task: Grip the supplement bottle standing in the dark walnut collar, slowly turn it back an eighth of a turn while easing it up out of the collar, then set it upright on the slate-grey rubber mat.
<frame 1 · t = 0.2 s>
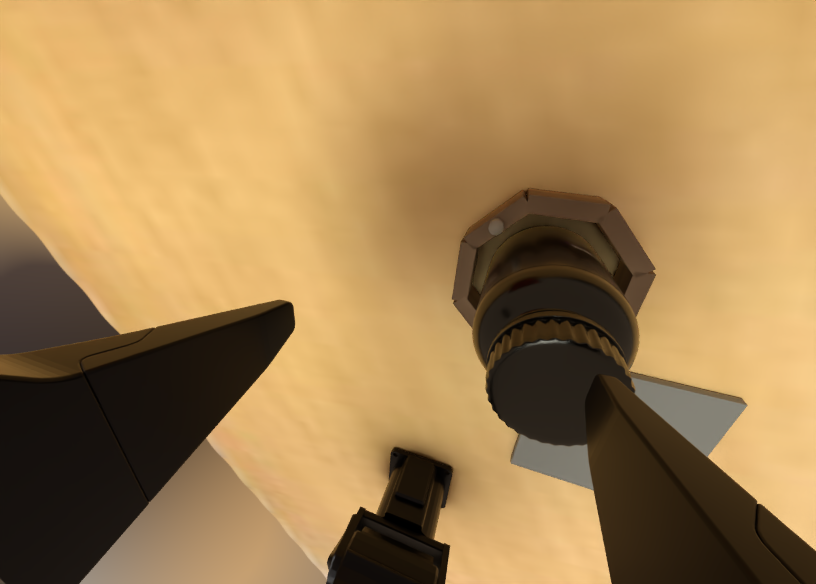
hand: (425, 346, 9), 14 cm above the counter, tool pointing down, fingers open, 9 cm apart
rubber mat: (606, 433, 25), on the counter
walnut collar: (540, 273, 21), on the counter
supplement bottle: (539, 272, 21), resting in walnut collar
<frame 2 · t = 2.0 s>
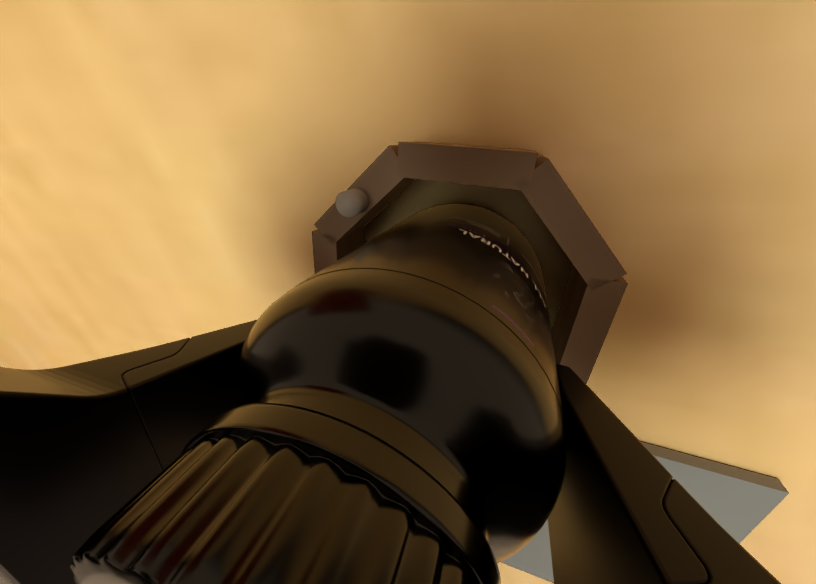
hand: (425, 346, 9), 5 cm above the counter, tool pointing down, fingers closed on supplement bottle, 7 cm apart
rubber mat: (573, 511, 17), on the counter
walnut collar: (455, 280, 14), on the counter
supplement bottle: (456, 279, 14), resting in walnut collar, touching gripper
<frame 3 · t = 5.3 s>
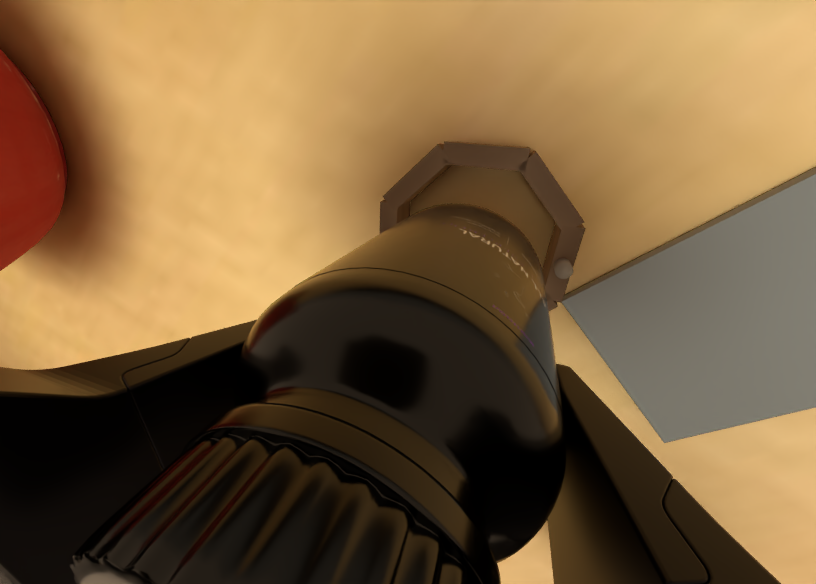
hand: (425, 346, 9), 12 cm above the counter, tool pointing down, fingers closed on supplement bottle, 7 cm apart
rubber mat: (726, 328, 17), on the counter
mixing bowl: (12, 129, 28), on the counter
walnut collar: (474, 238, 19), on the counter
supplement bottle: (456, 278, 14), point 7 cm above the counter, touching gripper
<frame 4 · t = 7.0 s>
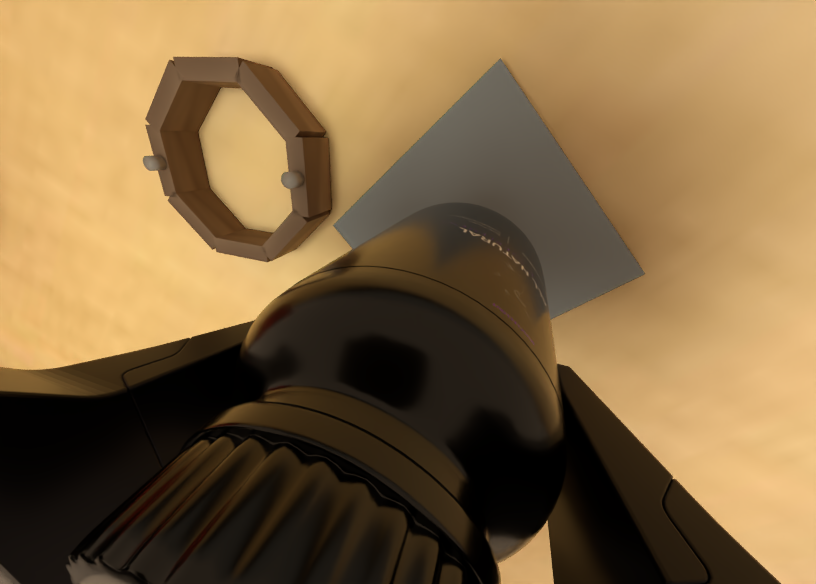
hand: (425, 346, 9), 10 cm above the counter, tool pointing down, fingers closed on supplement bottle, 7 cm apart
rubber mat: (471, 243, 18), on the counter
walnut collar: (256, 166, 20), on the counter
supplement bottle: (456, 278, 14), point 5 cm above the counter, touching gripper
when the fingers open (7 cm above the counter, at t = 8.5 s): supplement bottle drops 1 cm, resting on rubber mat.
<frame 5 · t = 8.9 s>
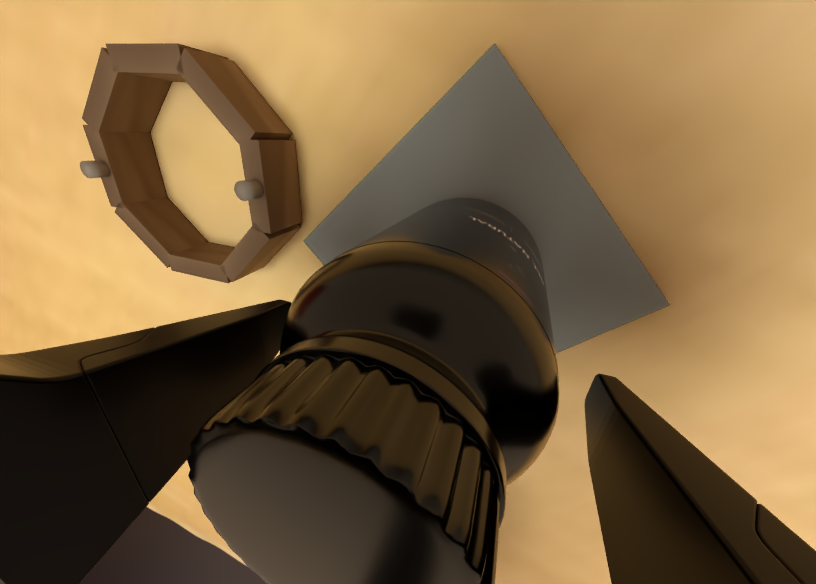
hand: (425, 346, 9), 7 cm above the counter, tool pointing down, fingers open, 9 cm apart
rubber mat: (462, 264, 15), on the counter
walnut collar: (216, 173, 18), on the counter
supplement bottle: (462, 268, 15), resting on rubber mat
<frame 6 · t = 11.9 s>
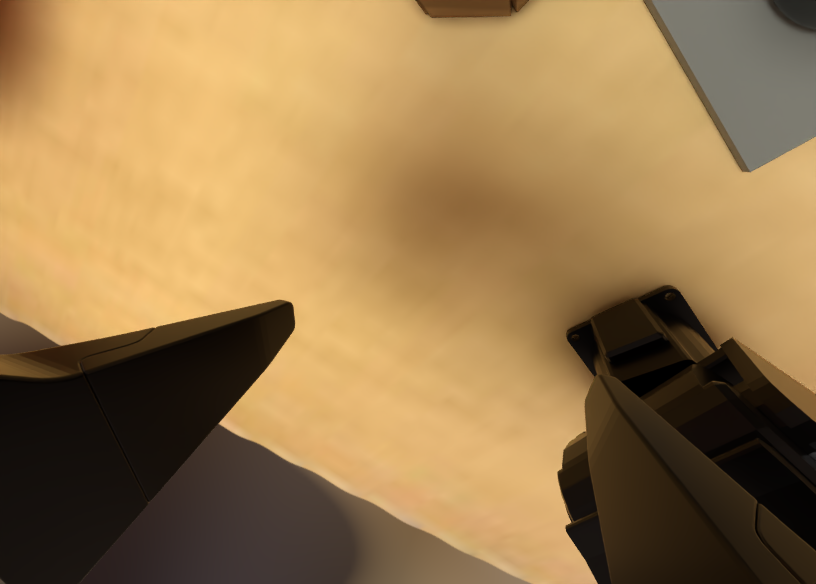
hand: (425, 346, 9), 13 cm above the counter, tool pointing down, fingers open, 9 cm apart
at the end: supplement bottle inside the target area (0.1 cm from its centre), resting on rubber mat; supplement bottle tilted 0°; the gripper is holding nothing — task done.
